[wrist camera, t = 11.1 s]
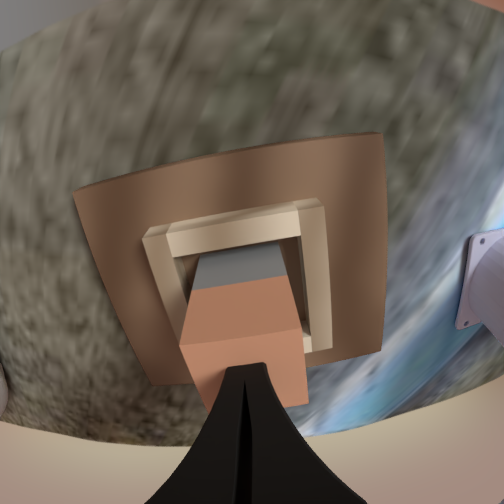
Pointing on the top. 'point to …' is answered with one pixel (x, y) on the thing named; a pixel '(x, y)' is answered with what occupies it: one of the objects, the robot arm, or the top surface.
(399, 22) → the top surface
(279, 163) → the socket board
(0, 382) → the teacup
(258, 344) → the square peg
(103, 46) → the top surface
